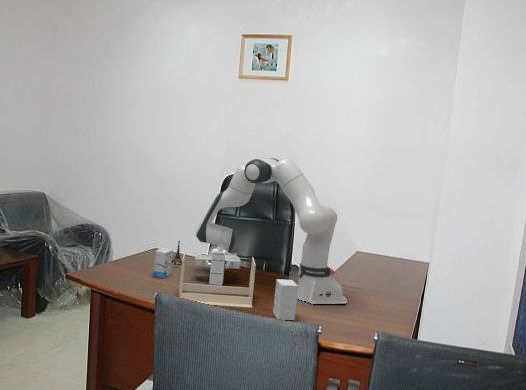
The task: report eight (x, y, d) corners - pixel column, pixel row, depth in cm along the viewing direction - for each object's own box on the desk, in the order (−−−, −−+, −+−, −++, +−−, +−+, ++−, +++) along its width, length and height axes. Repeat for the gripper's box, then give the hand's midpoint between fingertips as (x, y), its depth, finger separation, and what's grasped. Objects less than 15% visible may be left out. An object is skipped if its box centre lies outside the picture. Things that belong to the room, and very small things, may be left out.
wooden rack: (249, 292, 197) (252, 255, 196) (252, 308, 178) (256, 266, 177) (181, 288, 194) (185, 250, 193) (178, 303, 176) (181, 261, 174)
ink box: (163, 278, 205) (165, 252, 204) (152, 277, 206) (154, 250, 205) (171, 274, 213) (173, 248, 212) (160, 272, 214) (162, 247, 213)
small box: (294, 321, 169) (298, 285, 168) (277, 320, 168) (281, 285, 166) (288, 313, 177) (292, 279, 176) (272, 312, 175) (276, 278, 174)
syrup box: (222, 285, 200) (226, 252, 199) (208, 284, 200) (212, 250, 198) (222, 282, 206) (226, 249, 204) (209, 280, 205) (213, 248, 204)
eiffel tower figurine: (173, 260, 242) (176, 234, 241) (191, 263, 240) (194, 237, 238) (160, 266, 228) (162, 239, 226) (179, 269, 225) (181, 242, 224)
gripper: (195, 250, 213) (193, 257, 199) (240, 253, 215) (241, 260, 201) (194, 263, 213) (192, 271, 200) (239, 266, 216) (240, 275, 202)
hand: (217, 266), depth 201 cm, fingers closed on syrup box, 6 cm apart
